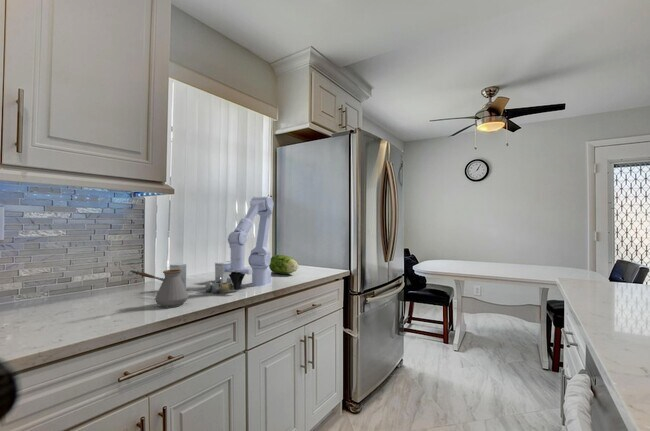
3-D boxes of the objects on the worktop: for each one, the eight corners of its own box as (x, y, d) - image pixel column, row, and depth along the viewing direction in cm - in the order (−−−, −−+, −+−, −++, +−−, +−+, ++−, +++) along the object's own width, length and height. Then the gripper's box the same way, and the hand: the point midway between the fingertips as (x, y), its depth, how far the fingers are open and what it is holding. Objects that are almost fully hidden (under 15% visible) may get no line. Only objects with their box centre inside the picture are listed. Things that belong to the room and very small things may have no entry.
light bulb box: (231, 280, 168) (231, 260, 169) (239, 281, 165) (239, 261, 165) (214, 283, 160) (214, 262, 160) (222, 285, 156) (222, 263, 156)
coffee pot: (177, 299, 127) (177, 262, 127) (194, 303, 121) (195, 264, 121) (119, 312, 109) (120, 269, 109) (137, 318, 103) (138, 272, 103)
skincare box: (169, 290, 143) (169, 264, 143) (176, 288, 147) (176, 263, 147) (179, 291, 141) (179, 265, 141) (186, 290, 145) (186, 264, 145)
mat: (217, 285, 154) (217, 284, 154) (246, 289, 146) (246, 288, 146) (192, 292, 140) (192, 290, 140) (222, 296, 132) (222, 294, 132)
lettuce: (289, 277, 177) (289, 257, 177) (265, 273, 190) (265, 255, 191) (303, 274, 186) (303, 255, 186) (279, 271, 199) (280, 253, 200)
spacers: (218, 284, 153) (218, 276, 153) (244, 287, 146) (244, 279, 146) (193, 290, 140) (193, 281, 140) (221, 294, 133) (221, 285, 133)
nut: (223, 288, 145) (223, 281, 145) (232, 289, 144) (232, 282, 144) (217, 291, 140) (217, 284, 140) (226, 291, 139) (226, 284, 139)
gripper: (218, 258, 138) (218, 289, 138) (244, 260, 132) (243, 292, 132) (229, 257, 145) (229, 286, 145) (254, 258, 138) (254, 289, 138)
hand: (237, 289), depth 139 cm, fingers closed
